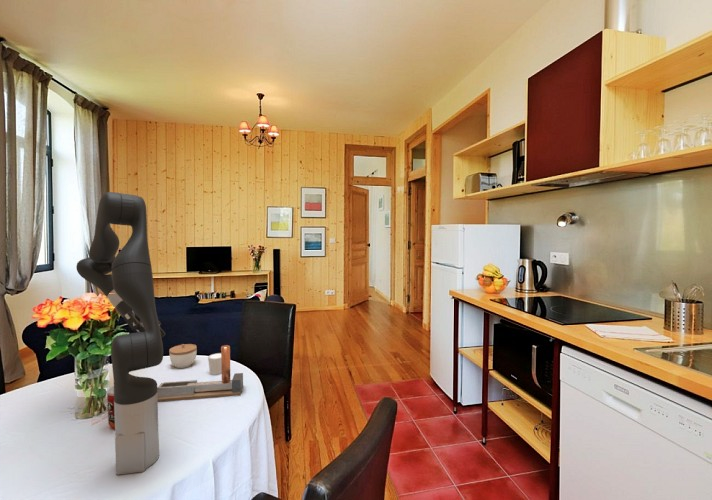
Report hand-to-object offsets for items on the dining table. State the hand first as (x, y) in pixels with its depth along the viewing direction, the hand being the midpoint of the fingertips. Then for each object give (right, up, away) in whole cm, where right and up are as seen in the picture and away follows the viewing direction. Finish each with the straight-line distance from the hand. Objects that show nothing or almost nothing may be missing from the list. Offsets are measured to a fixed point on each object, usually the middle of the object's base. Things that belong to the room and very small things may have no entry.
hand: (156, 337), depth 113 cm
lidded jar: (-9, -22, +35) cm, 42 cm away
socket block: (+23, -22, +12) cm, 34 cm away
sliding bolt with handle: (+15, -22, +10) cm, 28 cm away
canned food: (-5, -24, -9) cm, 26 cm away
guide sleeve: (+3, -22, +8) cm, 24 cm away
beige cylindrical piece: (+8, -22, +28) cm, 37 cm away
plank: (+11, -23, +9) cm, 27 cm away
